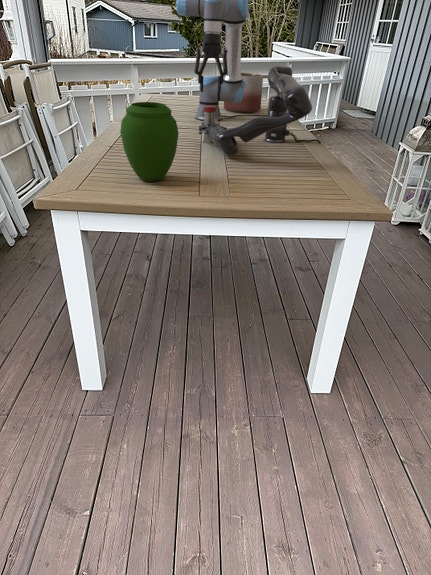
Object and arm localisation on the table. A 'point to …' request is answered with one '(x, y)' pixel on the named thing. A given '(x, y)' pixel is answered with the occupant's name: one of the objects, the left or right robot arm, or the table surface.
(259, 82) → the planter
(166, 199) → the table surface
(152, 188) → the table surface
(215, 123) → the seashell
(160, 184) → the table surface
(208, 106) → the lid
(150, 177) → the vase
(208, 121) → the jar
